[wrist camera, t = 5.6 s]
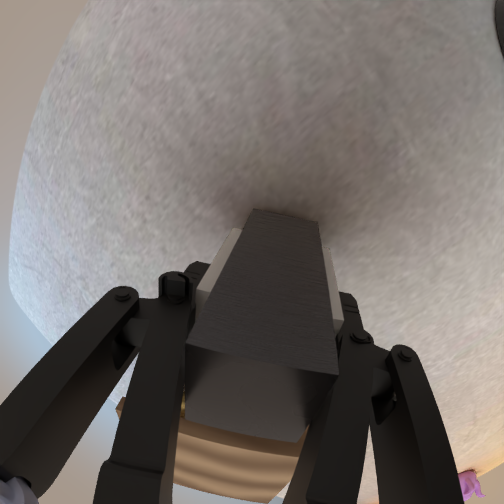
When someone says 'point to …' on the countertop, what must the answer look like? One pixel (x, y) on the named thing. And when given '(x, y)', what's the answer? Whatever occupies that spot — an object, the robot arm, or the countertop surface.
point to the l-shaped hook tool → (264, 334)
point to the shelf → (232, 461)
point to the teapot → (469, 484)
